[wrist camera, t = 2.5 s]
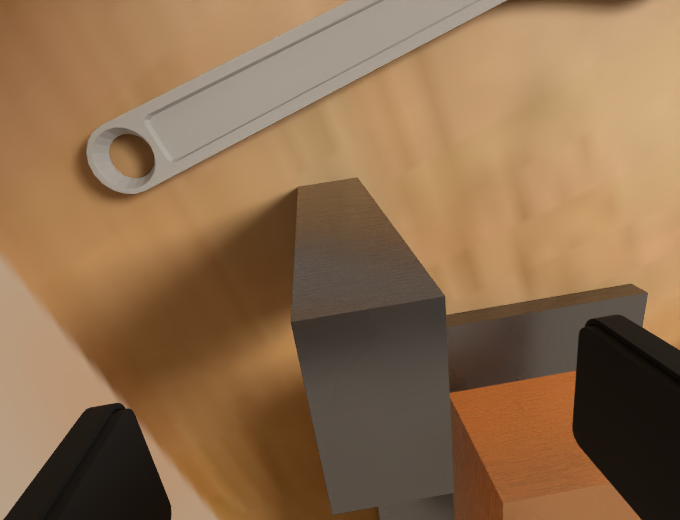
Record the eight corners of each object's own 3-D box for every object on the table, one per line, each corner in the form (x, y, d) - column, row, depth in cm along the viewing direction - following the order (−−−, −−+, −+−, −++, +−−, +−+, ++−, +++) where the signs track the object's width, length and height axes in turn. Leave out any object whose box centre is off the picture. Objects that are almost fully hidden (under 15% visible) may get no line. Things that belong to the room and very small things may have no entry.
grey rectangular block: (298, 186, 17) (290, 322, 6) (357, 177, 17) (444, 296, 6) (315, 284, 18) (332, 514, 8) (369, 275, 18) (454, 493, 8)
